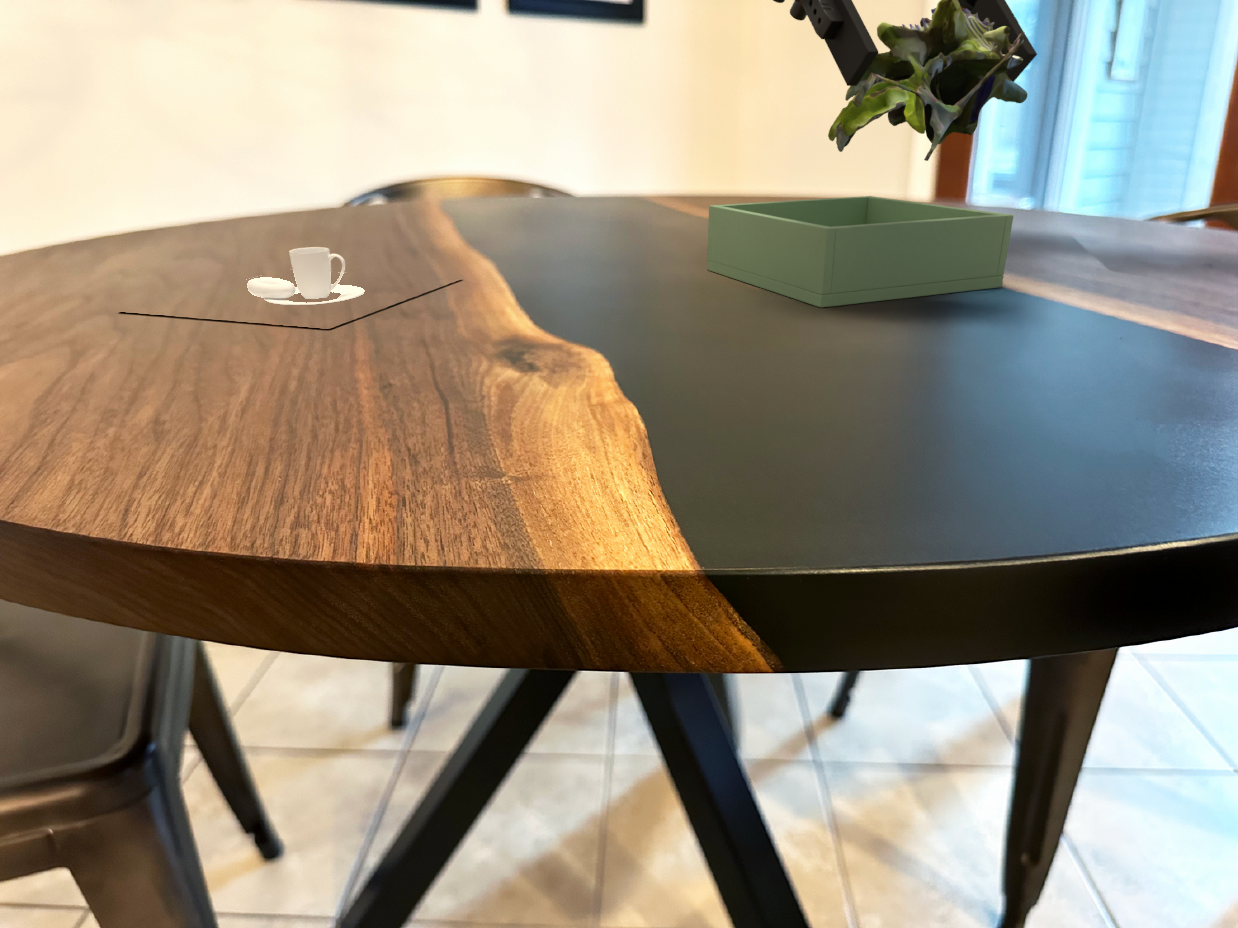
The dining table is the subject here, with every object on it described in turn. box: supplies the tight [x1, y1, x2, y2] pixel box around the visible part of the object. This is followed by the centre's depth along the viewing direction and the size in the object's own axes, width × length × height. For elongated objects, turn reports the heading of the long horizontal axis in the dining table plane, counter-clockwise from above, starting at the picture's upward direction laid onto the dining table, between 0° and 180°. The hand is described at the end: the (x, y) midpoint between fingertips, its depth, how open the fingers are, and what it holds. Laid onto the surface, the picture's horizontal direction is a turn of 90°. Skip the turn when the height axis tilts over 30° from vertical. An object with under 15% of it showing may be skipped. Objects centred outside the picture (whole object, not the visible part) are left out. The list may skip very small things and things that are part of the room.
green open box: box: [706, 195, 1014, 309], centre depth 75 cm, size 19×19×6 cm
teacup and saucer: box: [247, 246, 365, 305], centre depth 69 cm, size 9×8×4 cm
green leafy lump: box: [827, 0, 1028, 162], centre depth 58 cm, size 11×11×12 cm
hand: (945, 70), depth 57 cm, fingers closed on green leafy lump, 13 cm apart
